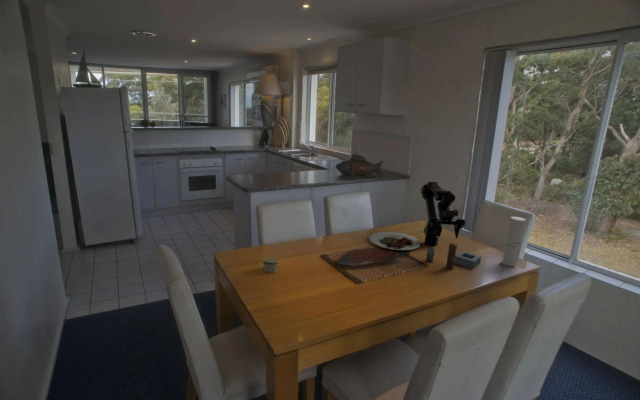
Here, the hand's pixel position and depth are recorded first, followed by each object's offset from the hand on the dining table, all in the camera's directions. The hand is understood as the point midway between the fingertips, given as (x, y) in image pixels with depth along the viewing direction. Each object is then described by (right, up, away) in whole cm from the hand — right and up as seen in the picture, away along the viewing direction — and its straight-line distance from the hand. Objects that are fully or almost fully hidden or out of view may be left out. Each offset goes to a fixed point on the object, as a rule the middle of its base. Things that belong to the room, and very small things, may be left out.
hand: (448, 237), depth 188 cm
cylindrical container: (+35, -15, +6) cm, 38 cm away
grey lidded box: (-90, -14, -18) cm, 93 cm away
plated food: (-23, -6, +27) cm, 36 cm away
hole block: (+11, -14, +3) cm, 18 cm away
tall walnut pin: (-1, -15, -4) cm, 15 cm away
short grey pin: (-9, -13, +3) cm, 16 cm away
